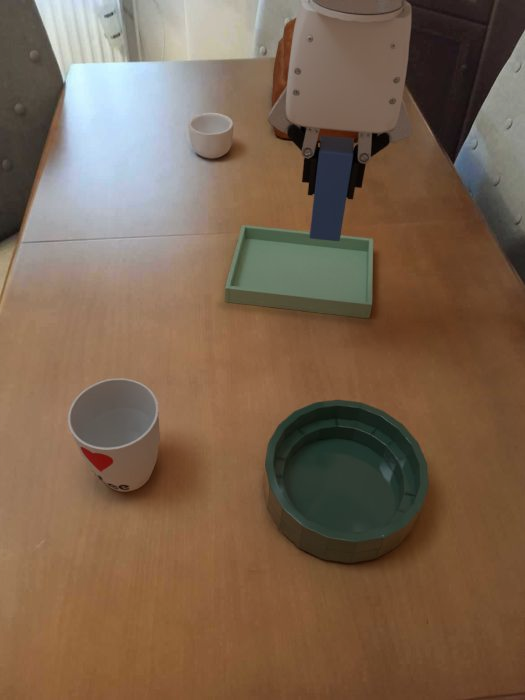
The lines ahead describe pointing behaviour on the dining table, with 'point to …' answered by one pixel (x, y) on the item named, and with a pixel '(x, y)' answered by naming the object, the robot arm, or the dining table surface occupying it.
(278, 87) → the bread
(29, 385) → the dining table surface
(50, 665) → the dining table surface
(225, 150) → the teacup
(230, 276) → the tray
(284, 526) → the green bowl
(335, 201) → the block
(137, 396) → the cup
